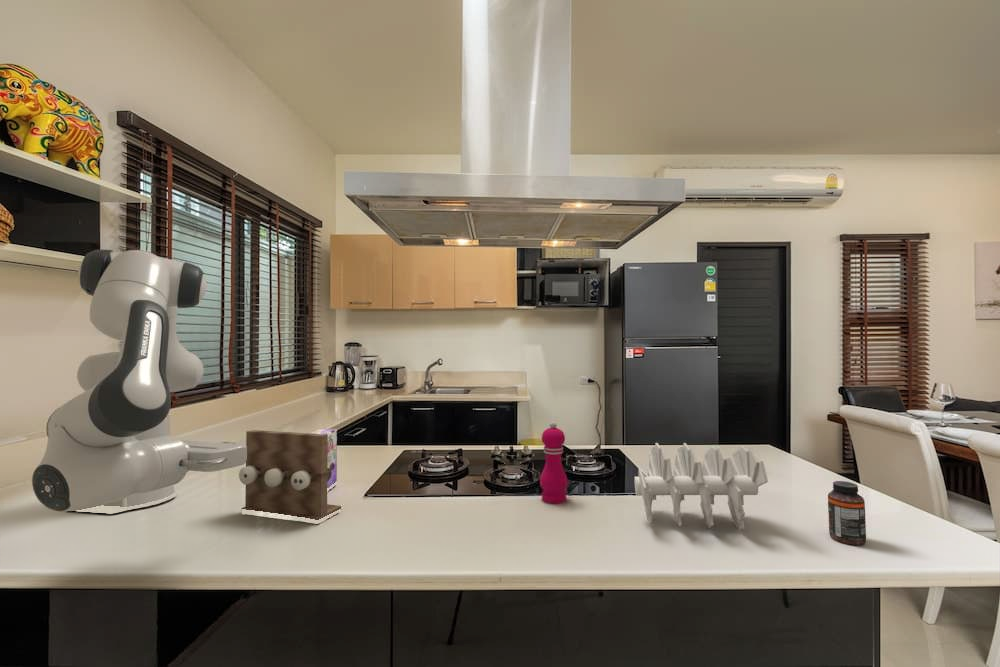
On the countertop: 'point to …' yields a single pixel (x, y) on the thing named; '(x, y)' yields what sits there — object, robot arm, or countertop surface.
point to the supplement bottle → (846, 514)
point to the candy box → (330, 454)
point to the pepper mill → (553, 466)
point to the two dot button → (301, 480)
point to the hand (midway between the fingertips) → (230, 445)
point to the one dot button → (249, 474)
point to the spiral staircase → (702, 480)
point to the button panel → (288, 473)
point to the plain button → (274, 477)
